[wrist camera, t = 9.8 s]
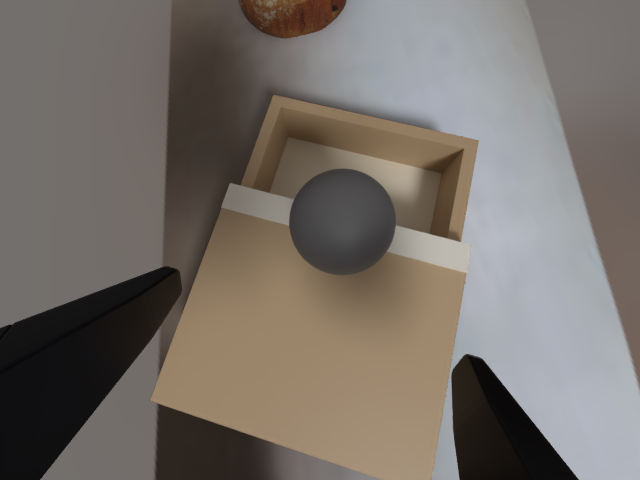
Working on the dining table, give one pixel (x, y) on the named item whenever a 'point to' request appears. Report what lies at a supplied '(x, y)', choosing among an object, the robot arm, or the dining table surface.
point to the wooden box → (367, 161)
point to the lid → (322, 327)
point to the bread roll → (291, 15)
